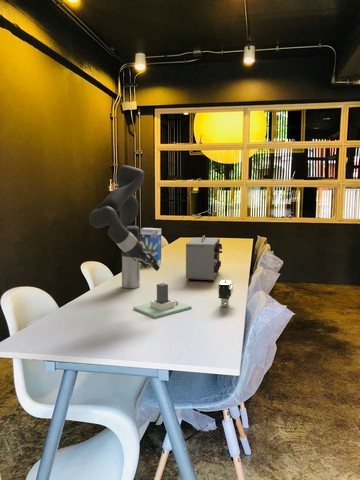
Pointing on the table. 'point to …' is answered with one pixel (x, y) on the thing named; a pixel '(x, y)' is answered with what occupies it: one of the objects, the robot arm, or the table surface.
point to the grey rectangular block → (162, 293)
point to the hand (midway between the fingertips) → (152, 267)
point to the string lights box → (152, 242)
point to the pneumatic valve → (225, 292)
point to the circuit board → (162, 308)
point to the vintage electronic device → (203, 258)
